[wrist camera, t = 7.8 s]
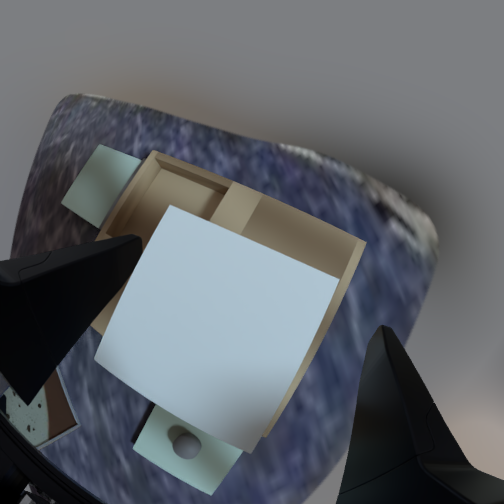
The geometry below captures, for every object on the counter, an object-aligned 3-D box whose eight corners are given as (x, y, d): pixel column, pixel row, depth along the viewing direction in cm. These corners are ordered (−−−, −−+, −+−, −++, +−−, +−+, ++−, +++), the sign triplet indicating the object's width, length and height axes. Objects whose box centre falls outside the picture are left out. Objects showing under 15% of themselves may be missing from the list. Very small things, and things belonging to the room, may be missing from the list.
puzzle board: (219, 495, 14) (213, 510, 12) (10, 324, 18) (-6, 321, 16) (357, 252, 17) (366, 242, 15) (105, 142, 22) (94, 130, 20)
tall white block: (269, 375, 15) (250, 453, 5) (206, 344, 16) (93, 359, 6) (300, 312, 16) (339, 279, 6) (237, 283, 17) (170, 204, 6)
